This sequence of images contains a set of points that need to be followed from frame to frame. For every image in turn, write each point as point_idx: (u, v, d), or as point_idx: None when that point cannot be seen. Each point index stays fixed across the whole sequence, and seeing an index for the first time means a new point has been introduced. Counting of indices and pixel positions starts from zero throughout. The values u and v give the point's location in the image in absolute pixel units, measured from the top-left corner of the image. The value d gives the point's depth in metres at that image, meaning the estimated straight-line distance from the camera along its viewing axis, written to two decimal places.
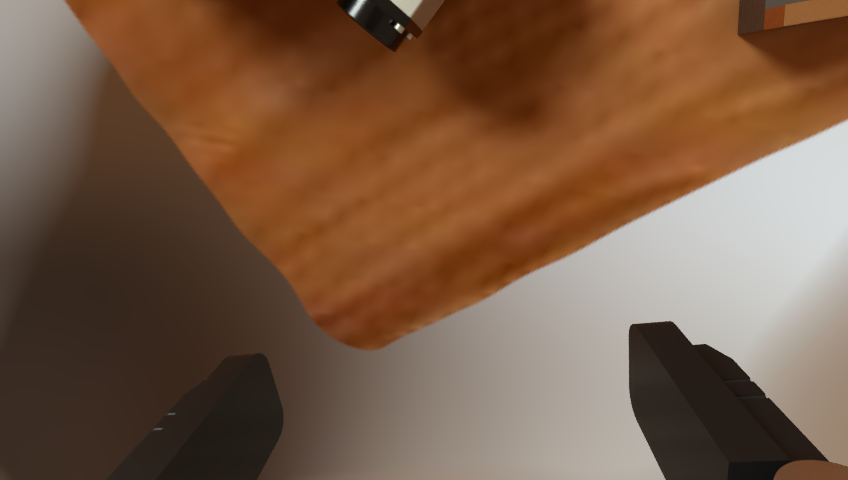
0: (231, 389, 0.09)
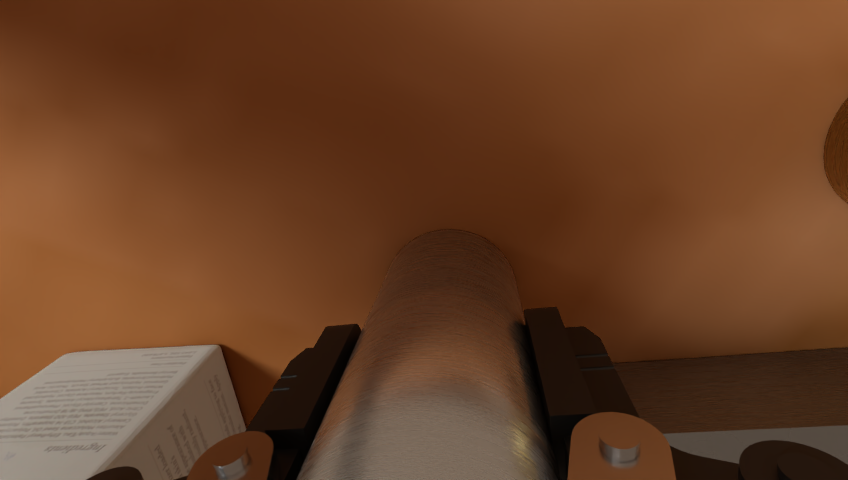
0: (342, 354, 0.09)
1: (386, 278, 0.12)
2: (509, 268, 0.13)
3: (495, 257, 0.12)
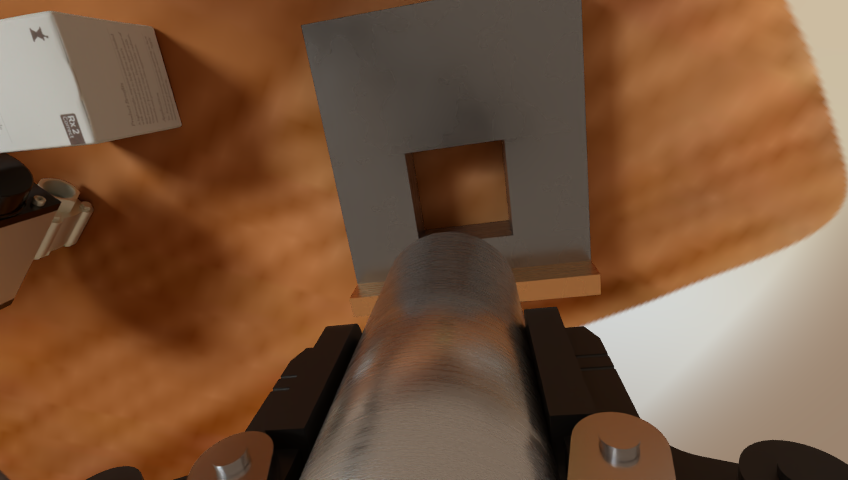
0: (342, 354, 0.09)
1: (386, 281, 0.12)
2: (509, 270, 0.13)
3: (496, 260, 0.12)
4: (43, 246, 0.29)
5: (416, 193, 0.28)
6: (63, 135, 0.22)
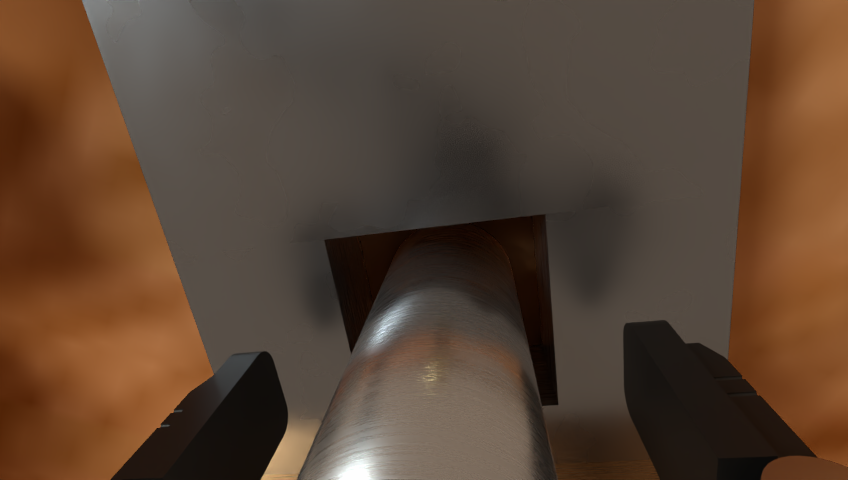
0: (236, 387, 0.09)
1: (391, 265, 0.13)
2: (505, 257, 0.14)
3: (493, 247, 0.13)
4: None
5: (363, 300, 0.14)
6: None
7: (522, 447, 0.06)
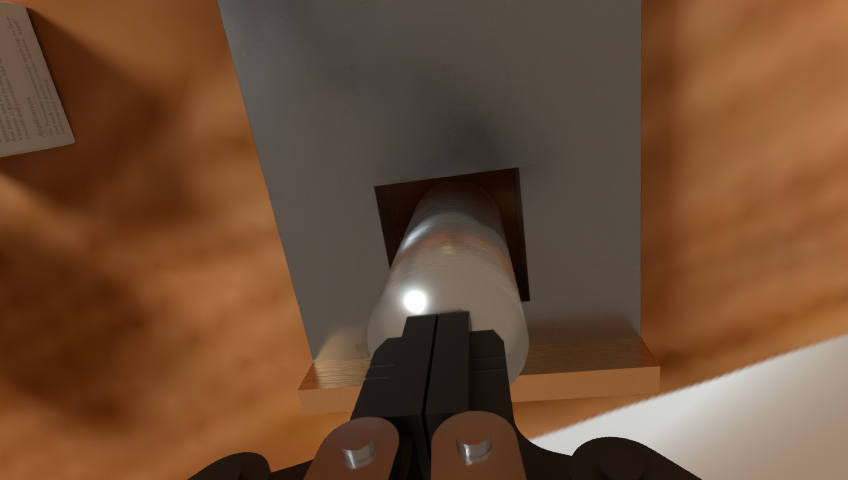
0: (433, 342, 0.09)
1: (416, 208, 0.19)
2: (495, 204, 0.19)
3: (486, 196, 0.19)
4: None
5: (394, 237, 0.20)
6: None
7: (498, 267, 0.12)
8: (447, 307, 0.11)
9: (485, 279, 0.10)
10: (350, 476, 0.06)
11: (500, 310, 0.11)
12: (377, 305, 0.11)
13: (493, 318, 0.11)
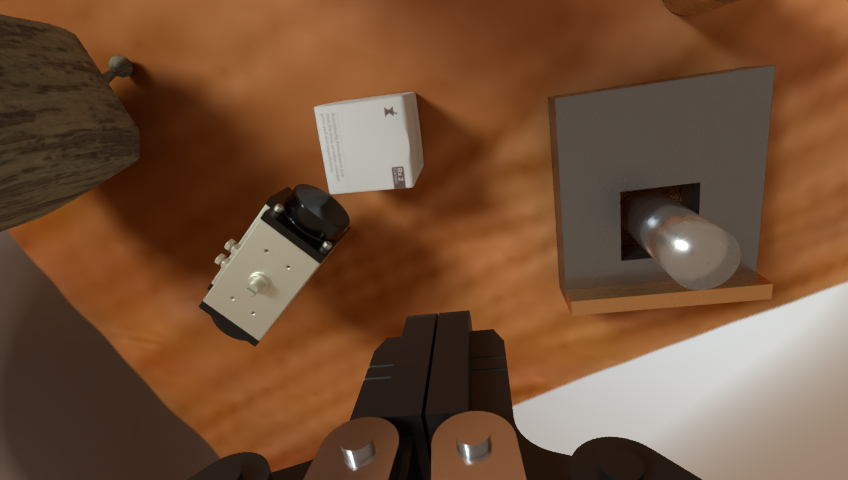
0: (433, 342, 0.09)
1: (632, 204, 0.34)
2: None
3: None
4: None
5: None
6: (390, 181, 0.30)
7: None
8: (707, 244, 0.26)
9: (726, 232, 0.26)
10: (350, 476, 0.06)
11: (730, 245, 0.26)
12: (677, 244, 0.27)
13: (726, 248, 0.26)
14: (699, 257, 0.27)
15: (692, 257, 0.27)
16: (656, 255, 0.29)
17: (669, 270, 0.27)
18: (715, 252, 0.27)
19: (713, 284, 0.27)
